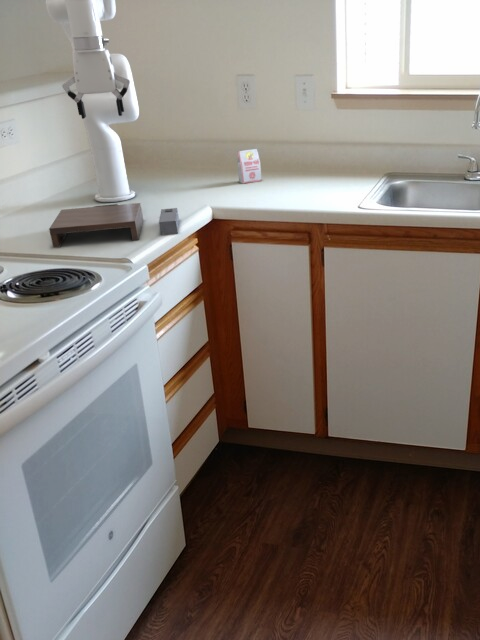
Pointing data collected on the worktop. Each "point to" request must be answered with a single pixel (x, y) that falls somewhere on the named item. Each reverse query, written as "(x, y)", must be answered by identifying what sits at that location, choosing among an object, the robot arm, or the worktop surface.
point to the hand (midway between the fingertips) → (102, 116)
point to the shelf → (97, 220)
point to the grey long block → (169, 221)
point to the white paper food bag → (249, 166)
